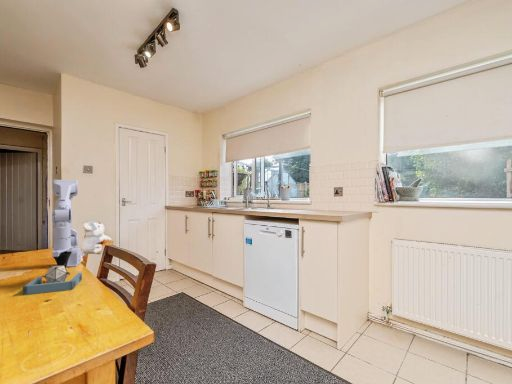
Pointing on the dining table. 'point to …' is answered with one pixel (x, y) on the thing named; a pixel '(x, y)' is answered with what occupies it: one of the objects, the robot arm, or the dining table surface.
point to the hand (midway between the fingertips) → (62, 269)
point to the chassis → (50, 285)
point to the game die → (56, 274)
